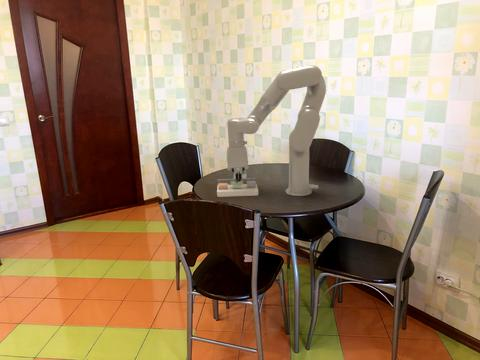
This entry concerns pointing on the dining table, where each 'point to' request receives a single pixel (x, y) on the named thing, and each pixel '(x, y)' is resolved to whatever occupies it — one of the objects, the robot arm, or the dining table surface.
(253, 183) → the grey key
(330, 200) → the dining table surface
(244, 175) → the syrup box
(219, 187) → the terracotta key
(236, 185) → the sage key
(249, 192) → the keypad
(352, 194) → the dining table surface
